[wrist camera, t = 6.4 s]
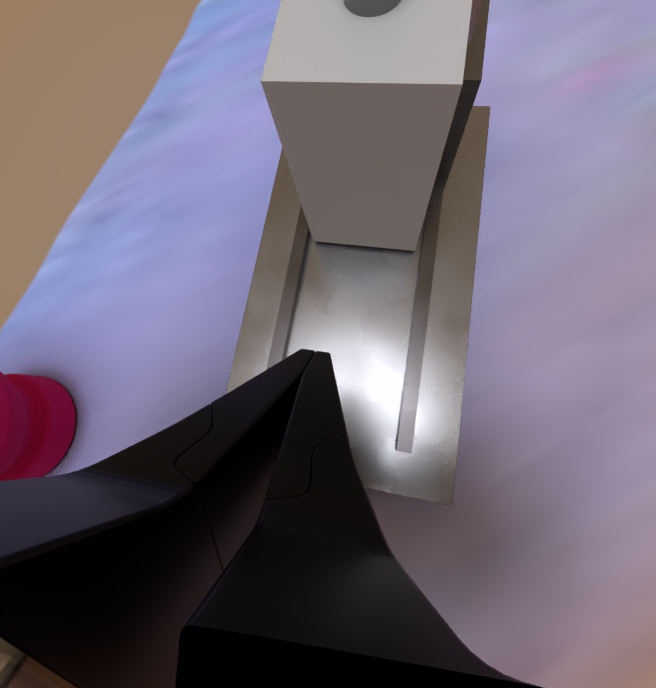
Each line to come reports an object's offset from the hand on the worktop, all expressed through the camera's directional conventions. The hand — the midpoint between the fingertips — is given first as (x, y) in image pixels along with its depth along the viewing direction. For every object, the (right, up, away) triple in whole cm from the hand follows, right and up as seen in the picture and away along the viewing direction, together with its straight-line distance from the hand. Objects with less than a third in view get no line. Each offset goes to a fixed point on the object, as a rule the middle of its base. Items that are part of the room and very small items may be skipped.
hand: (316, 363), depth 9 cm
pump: (+3, +8, +9) cm, 12 cm away
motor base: (+2, +5, +10) cm, 11 cm away
